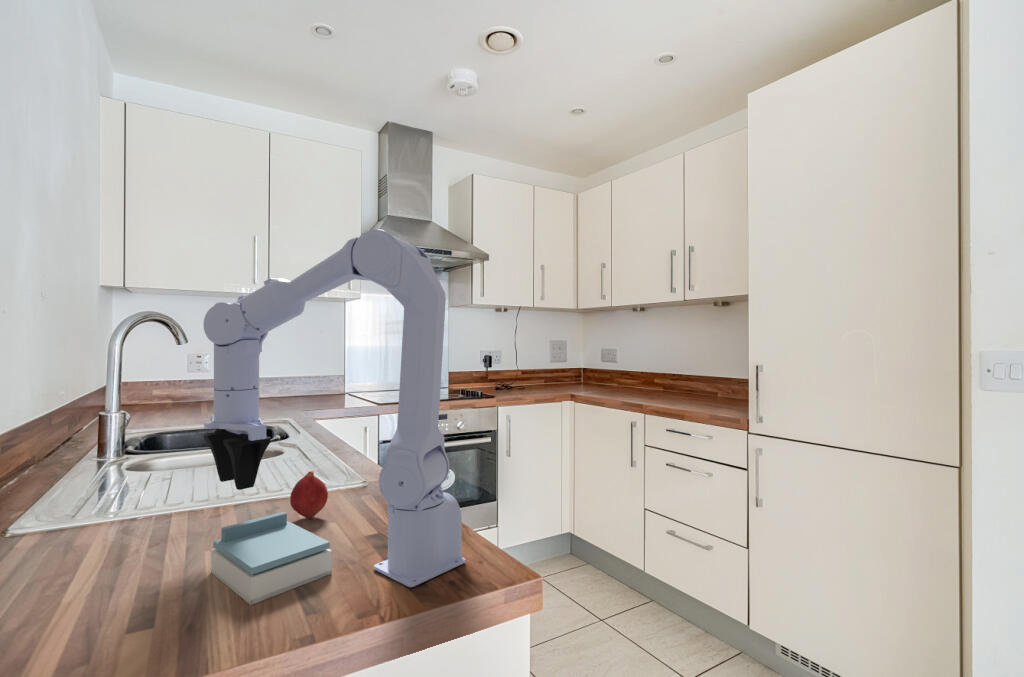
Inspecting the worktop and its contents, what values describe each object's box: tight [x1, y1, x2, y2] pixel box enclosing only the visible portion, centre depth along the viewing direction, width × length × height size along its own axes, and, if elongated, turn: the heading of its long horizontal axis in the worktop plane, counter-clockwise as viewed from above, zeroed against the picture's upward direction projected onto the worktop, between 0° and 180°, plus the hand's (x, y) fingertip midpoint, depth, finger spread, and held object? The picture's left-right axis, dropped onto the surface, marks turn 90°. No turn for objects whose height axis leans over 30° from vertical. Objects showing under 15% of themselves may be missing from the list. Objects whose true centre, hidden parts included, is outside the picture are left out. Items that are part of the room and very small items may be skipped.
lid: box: [212, 511, 331, 575], centre depth 65 cm, size 10×12×2 cm
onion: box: [289, 470, 329, 520], centre depth 85 cm, size 6×6×8 cm
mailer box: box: [210, 548, 333, 606], centre depth 65 cm, size 10×12×3 cm
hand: (236, 484), depth 72 cm, fingers open, 5 cm apart
